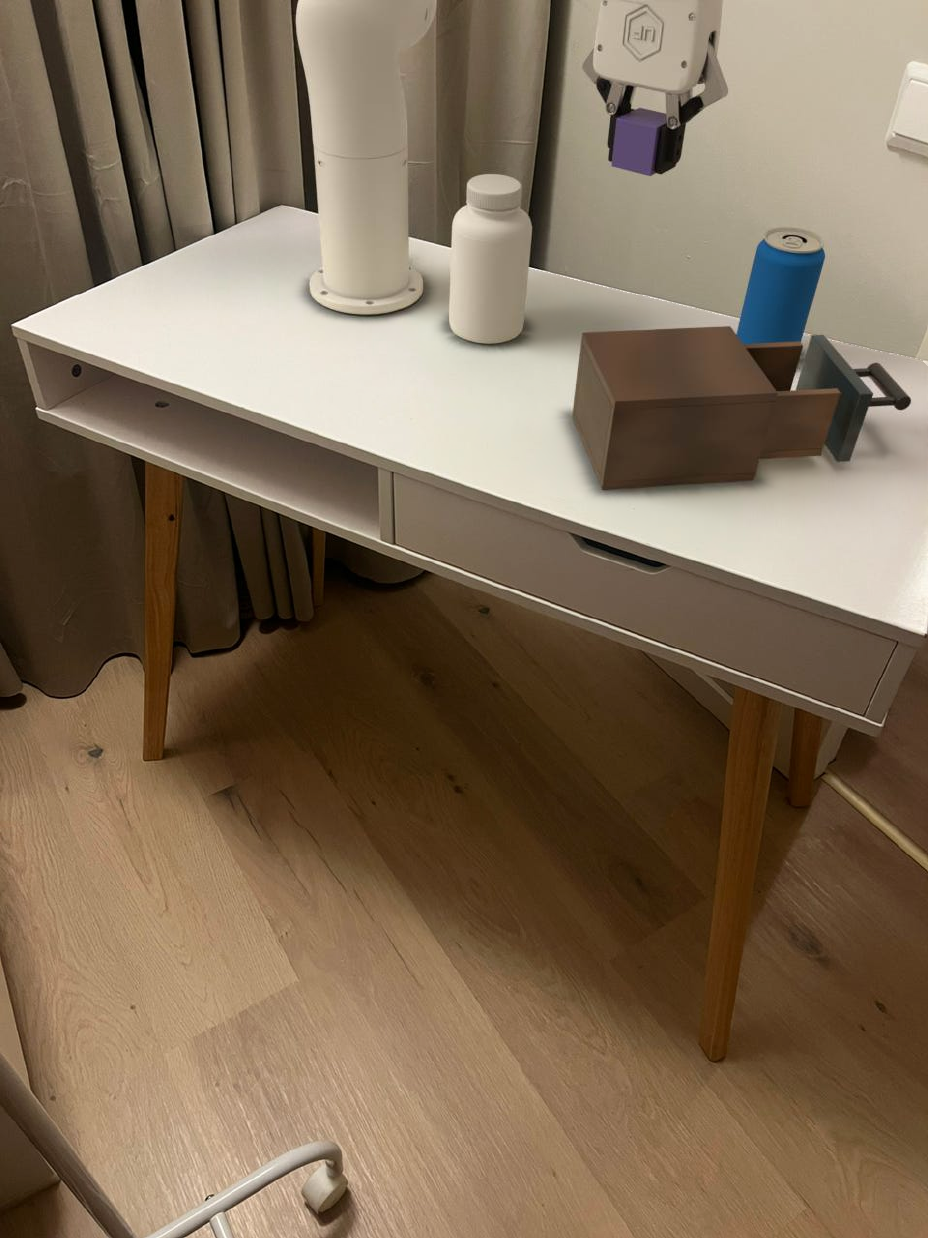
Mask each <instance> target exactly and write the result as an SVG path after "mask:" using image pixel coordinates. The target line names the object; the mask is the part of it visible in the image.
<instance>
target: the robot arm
mask: <svg viewBox="0 0 928 1238" xmlns="http://www.w3.org/2000/svg"><path fill="white" fill-rule="evenodd" d="M437 1H438V0H298V1H297V4H296V6H297V7H296V13H295V27H296V28H295V30H296V31H295V32H296V37H297V39H296V40H297V43H298V50H299V54H300V57H301V62H302V66H303V70H304V76H305V80H306V86H307V92H308V100H309V109H310V118H311V130H312V131H311V132H312V144H313V155H314V157H313V158H314V169H315V171H314V172H315V184H316V194H317V195H316V197H317V212H318V226H319V239H320V240H319V241H320V251H321V252H320V254H321V265H322V266H320V267H319V268H317V269H316V270H315V271H314V272H313V273H312V275H311V276H310V278H309V293H310V295H311V297H312V298H313V299H314V300H315V301H316V302H318V303H319V304H320V305H322V306H323V307H325V308H328V309H330V310H333V311H336V312H340V313H346V314H351V315H379V314H380V315H381V314H386V313H387V314H388V313H391V312H395V311H396V312H397V311H399V310H403V309H405V308H407V307H409V306H411V305H413V304H414V303H415V302H417V301H418V300H419V299H420V297H421V296H422V294H423V293H424V279H423V276H422V275H421V274H420V272H419V271H418V270H416V269H415V268H414V267H412V266H411V265H410V248H409V247H410V241H409V238H410V237H409V232H410V231H409V156H408V155H409V151H408V150H409V149H408V148H409V147H408V143H409V142H408V115H407V114H408V113H407V105H406V104H407V103H406V97H405V92H404V87H403V82H402V76H401V71H400V56H401V55H402V54H403V53H405V52H406V51H407V50H409V49H410V48H412V47H413V46H414V45H416V44H417V43H418V42H420V41H421V40H422V39H423V38H424V37H425V35H426V34H427V33H428V31H429V30H430V28H431V26H432V24H433V22H434V19H435V16H436V11H437V5H438V4H437V3H438V2H437ZM723 3H724V1H723V0H600V6H599V10H598V16H597V24H596V30H595V36H594V44H593V45H594V46H593V48H592V50H591V51H590V52H589V54H588V55H587V57H586V58H585V60H584V61H583V63H582V71H583V72H584V74H585V75H586V76H587V77H588V79H589V80H590V82H592V83H593V84H594V85H596V89H597V92H598V94H599V95H600V97H601V98H602V101H604V103H605V108H604V109H605V113H607V114H608V115H609V126H608V134H607V136H608V137H607V142H606V143H607V148H608V157H607V160H608V162H610V163H612V156H613V147H614V138H615V129H616V120H617V118H619V117H621V116H623V115H625V114H627V113H629V112H632V111H634V110H636V109H635V108H632V107H633V100H634V98H635V93H636V91H637V88H642V89H645V90H651V91H655V92H660V93H665V114H666V126H664V127H662V128H661V129H660V132H659V139H658V146H657V153H656V160H655V167H654V171H655V172H656V173H655V174H656V175H663V174H665V173H667V172H669V171H671V170H672V169H674V168H676V166H677V164H678V163H679V161H681V158H682V154H683V153H682V152H683V146H684V140H685V133H686V127H687V123H689V122H691V121H692V119H693V118H695V117H696V116H697V115H698V114H700V113H701V112H702V111H703V110H704V109H705V108H707V107H710V106H711V105H713V104H715V103H717V102H718V101H720V100H722V99H725V98H726V97H727V96H728V94H729V88H728V85H727V82H726V78H725V76H724V73H723V71H722V68H721V65H720V62H719V59H718V52H719V43H720V35H721V28H722V16H723V15H722V14H723ZM703 84H704V89H703V91H702V92H700V93H698V94H696V95H695V96H694V93H693V91H694V90H693V89H694V88H695V87H696V86H697V85H703Z"/></svg>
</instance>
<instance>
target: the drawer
mask: <svg viewBox="0 0 928 1238" xmlns="http://www.w3.org/2000/svg"><path fill="white" fill-rule="evenodd" d="M743 345H744V346H745V348H746V349H747V351H748V352H749V353H750V355H751V356H752V358H753V359H754V360H755V362H756V363H757V365H758V366H759V367H760V369H761V370H762V372H763V373H764V374H765V376H766V377H767V379H768V380H769V381H770V383H771V384H772V386H773V387H774V388H775V390H776V391H777V393H778V394H777V398H776V401H775V405H774V408H773V412H772V416H771V419H770V423H769V426H768V430H767V434H766V437H765V441H764V445H763V448H762V452H761V455H760V459H759V460H771V459H772V460H776V459H791V458H793V459H794V458H809V457H821V456H822V453H823V450H824V447H826V449H827V450H828V452H829V453H830V454H831V456H832V457H833V458H834V460H835V461H836V463H847V462H851V459H852V456H853V454H854V450H855V448H856V445H857V442H858V439H859V436H860V433H861V431H862V428H863V425H864V422H865V419H866V417H867V413H868V410H869V408H874V407H889V406H892V407H894V408H895V409H896V410H898V411H904V410H906V409H908V408H909V407H910V405H911V404H912V398H911V397H910V396H909V395H908V394H907V392H906V391H905V390H904V389H903V388H902V386H901V385H899V383H898V382H897V381H896V380H895V379H894V378H893V377H892V375H891V374H889V372H888V371H887V370H886V369H885V368H884V367H883V366H882V364H881V363H880V362H873V363H870V364H869V365H868V366H867V367H861V368H852V367H851V365H850V364H849V363H848V361H846V359H845V357H843V356H842V354H841V353H840V352H839V351H838V350H837V349H836V347H834V345H833V344H832V343H831V341H830V340H829V339H828V338H827V337H826V336H825V334H812V335H811V336H810V339H809V341H808V346H807V350H806V352H805V353H806V354H805V357H804V360H803V364H802V367H801V370H800V373H799V377H798V380H797V384H796V386H795V387H796V388H795V390H792V387H793V382H794V379H795V376H796V372H797V368H798V365H799V361H800V359H801V355H802V351H803V348H804V345H803V344H802V341H801V342H800V341H799V342H776V343H754V344H743ZM862 378H869V379H870V380H871V382H872V383H873V384H874V385H875V386H876V387H877V388H878V390H879V391H880V392H881V393H882V394H883V395H884V396H880V397H878V396H877V397H873V396H874V393H873V391H872V390H871V389H870V387H868V385H867V384H866V383H865V382H864V380H863V379H862Z"/></svg>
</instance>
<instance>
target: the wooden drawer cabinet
mask: <svg viewBox="0 0 928 1238" xmlns="http://www.w3.org/2000/svg"><path fill="white" fill-rule="evenodd" d="M736 334H737V333H736V332H735V331H734V330H733V328H732V327H731V326H730V325H724V326H702V327H701V326H700V327H699V326H698V327H676V328H655V329H653V328H652V329H632V330H607V331H605V330H604V331H585V332H584V331H583V332H581V338H580V348H579V357H578V365H577V373H576V380H575V390H574V398H573V406H572V407H573V408H572V416H571V417H572V420H573V422H574V425H575V428H576V429H577V432H578V435H579V437H580V440H581V441H582V444H583V447H584V449H585V451H586V454H587V456H588V459H589V461H590V464H591V466H592V468H593V471H594V473H595V476H596V479H597V481H598V483H599V486H600V488H601V490H617V489H631V488H633V489H634V488H648V487H663V486H679V485H680V486H681V485H697V484H710V483H711V484H712V483H713V484H714V483H729V482H743V481H744V482H746V481H754V480H755V476H756V472H757V470H758V466H759V462H760V460H761V459H760V455H761V452H762V448H763V445H764V441H765V437H766V434H767V430H768V426H769V423H770V419H771V416H772V412H773V408H774V405H775V401H776V398H777V394H778V393H777V391H776V390H775V388H774V387H773V386H772V384H771V383H770V381H769V380H768V379H767V377H766V376H765V374H764V373H763V372H762V370H761V369H760V367H759V366H758V365H757V363H756V362H755V360H754V359H753V358H752V356H751V355H750V353H749V352H748V351H747V349H746V348H745V346H744V345H743V344H742V342H741V341H740V339H739V338H738V337H737V335H736Z"/></svg>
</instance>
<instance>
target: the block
mask: <svg viewBox="0 0 928 1238" xmlns="http://www.w3.org/2000/svg"><path fill="white" fill-rule="evenodd" d="M664 126H666V112H661V111H656V110H652V109H648V108H642V107H638V108H636V109H635V110H634V111H632V112H629V113H627V114H625V115H623V116H621V117H619V118H617V120H616V129H615V138H614V147H613V156H612V162H611V164H610V165H611V167H613V168H617V169H620V170H623V171H629V172H632V173H636V174H640V175H644V176H648V177H652V176H654V175H655V174H657V173H656V172H655V171H654V167H655V160H656V153H657V146H658V139H659V132H660V129H661V128H662V127H664Z"/></svg>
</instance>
